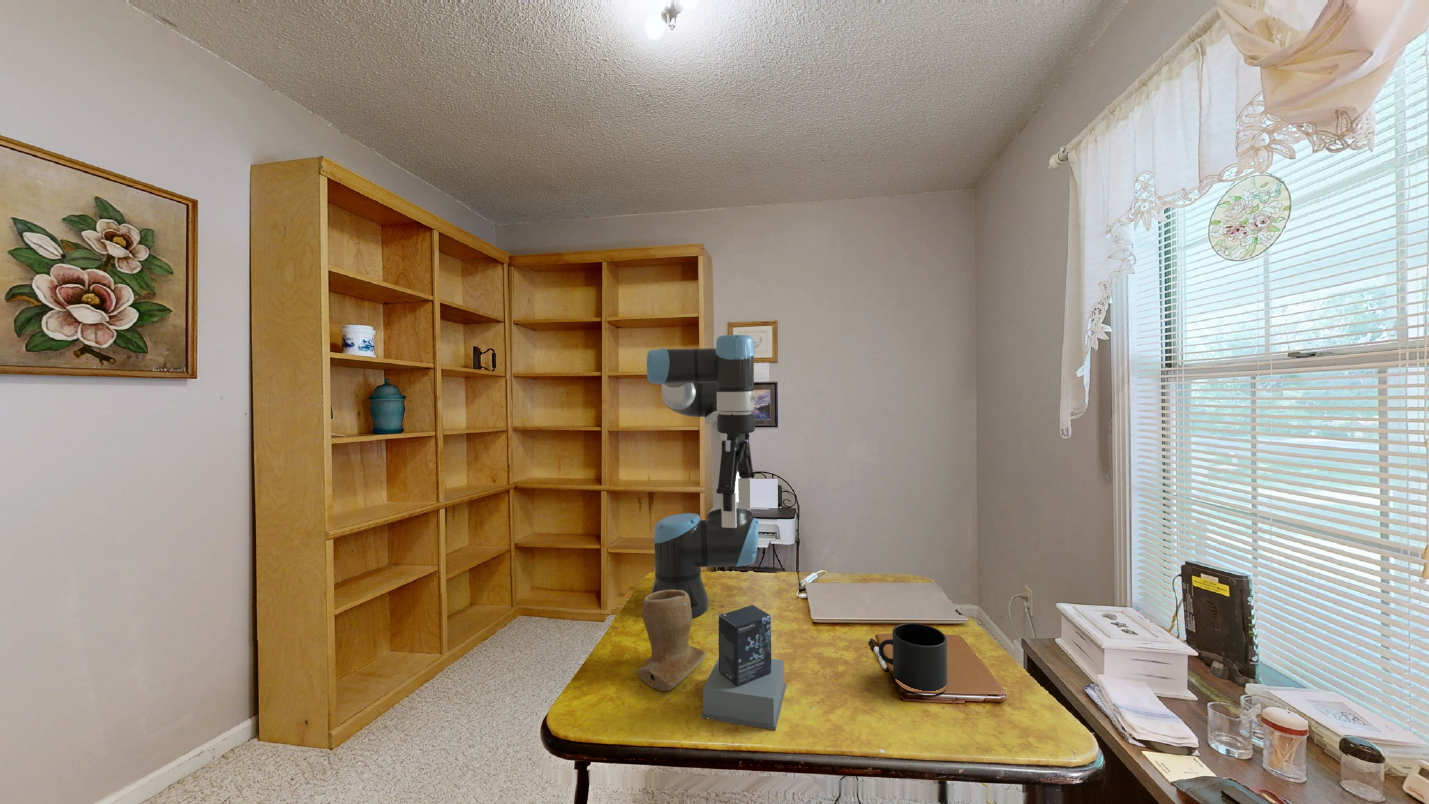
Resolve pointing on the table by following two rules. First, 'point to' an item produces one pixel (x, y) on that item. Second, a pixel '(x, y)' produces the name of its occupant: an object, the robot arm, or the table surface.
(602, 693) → the table surface
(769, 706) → the plinth
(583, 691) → the table surface
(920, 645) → the mug
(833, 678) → the table surface
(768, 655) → the box
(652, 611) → the stone cup
